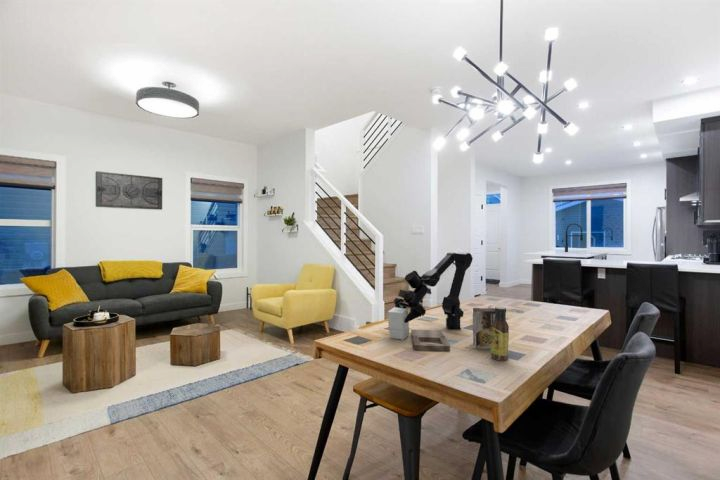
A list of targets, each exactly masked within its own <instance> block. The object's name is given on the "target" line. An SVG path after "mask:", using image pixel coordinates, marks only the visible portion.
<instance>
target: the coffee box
mask: <svg viewBox="0 0 720 480" xmlns="http://www.w3.org/2000/svg"><path fill="white" fill-rule="evenodd" d="M494 320H495V308H494V307H473V308H472V345H473V346H474V348H475V349H478V350H491V330H492V323H493V322H494Z"/></svg>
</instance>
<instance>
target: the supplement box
mask: <svg viewBox="0 0 720 480" xmlns="http://www.w3.org/2000/svg"><path fill="white" fill-rule="evenodd" d="M408 309H409V308H396V307H393V308H391V309H389V310H388V311H387V316H388V317H387V318H388V333H389V334H388V335H389V338H390V339H397V340H402V341H403V340H405V339H406V338H407V337H408V336H410V325H409V322H410V321H409V322H407V323H405V322H404V320H405V319H406V317H407V316H408V314H409V310H408Z"/></svg>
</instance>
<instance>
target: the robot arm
mask: <svg viewBox="0 0 720 480" xmlns="http://www.w3.org/2000/svg"><path fill="white" fill-rule="evenodd" d="M472 262H473V256H472V254H471V253H469V252H461V251H460V252H458V253H456V252H451V251H450V252H447V253H446V254H445V256H444V257H443V258H442V259H441V260H440V261H439V263H437V264H436V265H435V266H434V268H432V269H431V270H428V271H426V272H425V273H423V274H422V275H419V273H418V272H417V270H412V271H411V272H409V273H407V274H406V275H405V277H404V281H405V282H406V283H407V284H408V285H409V287H410V288H411V289H413V290H408V291H407V290H403V289H400V290H399V292H398V295H397V296H398V297H395V298H394V300H393V304H394V305H395V307H396V308H406V309H409V311H408V316H407V317H406V319H405V320H404V322H405V323H407V322H410V321H412V320H415V319H417V318H419V317H420V318H421V317H424V316H425V315H426V313H427V311H426V309H425V307H424V306H423V305H422V304H421V303H424V300H423V299H424V298H425V297H426V295H427V294H428V295H432V291H431V290H432V288H430V287H436V286H437V285H438V283H439V282H440V280H441V276H442V275H443V273H445V272H446V270H448V268H449V267H451V265H453V263H454V264H455V272H454V275H453V278H452V282H451V284H450V285H451V287H450V291H449V293H448V295H447V296H444V297H443V300H442V302H441V305H442V306H441V308H442V310H443V313H444V315H446V317H445V326H446V328H447V329H448V330H449V329H450V330H462V327H461V318H462V317H464V313H465V312H464V311H463V310H462V309H461V301H460V295H461V290H462V286H463V283H464V277H465V276H466V275H465V274H466V271H467V270H468V269H469V268H470V267H471V265H472Z"/></svg>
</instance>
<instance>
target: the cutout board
mask: <svg viewBox="0 0 720 480" xmlns="http://www.w3.org/2000/svg"><path fill="white" fill-rule="evenodd" d="M410 331H411V332H410V334H411V337H412V338H411V339H412V344H413V348H414V349H413V350H414V351H435V352H436V351H437V352H439V351H440V352H450V351H451V346H450V343H449V342H448V340H447V338H446V336H445V334H444V332H443V330H441V329H411V330H410ZM421 342H426V343H421ZM429 342H430V343H429Z"/></svg>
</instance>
